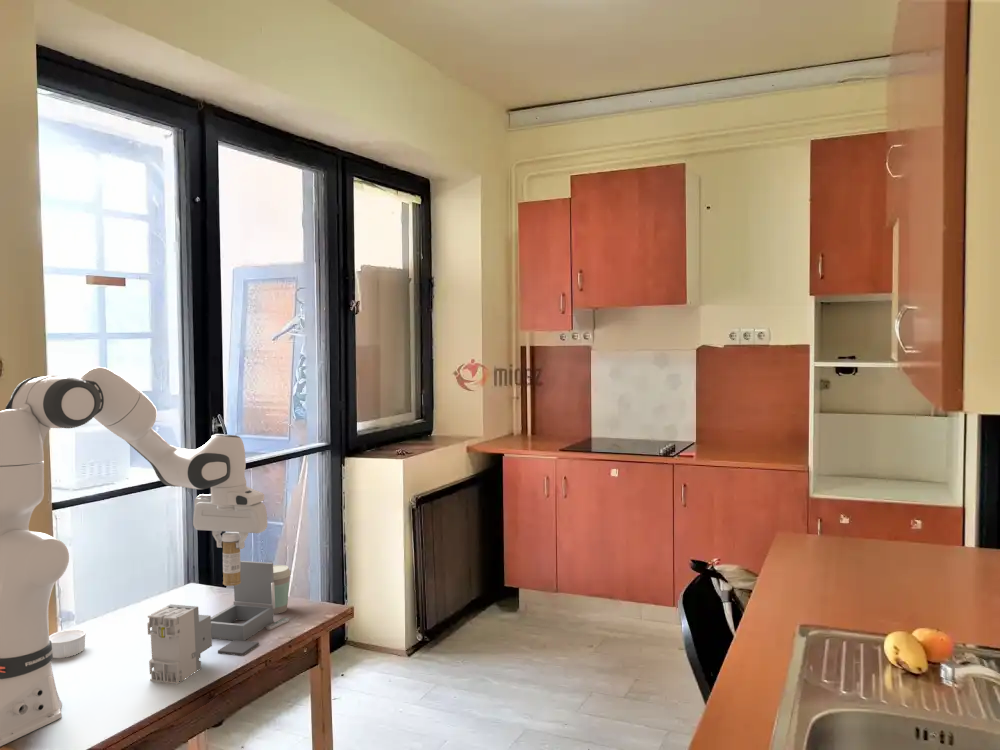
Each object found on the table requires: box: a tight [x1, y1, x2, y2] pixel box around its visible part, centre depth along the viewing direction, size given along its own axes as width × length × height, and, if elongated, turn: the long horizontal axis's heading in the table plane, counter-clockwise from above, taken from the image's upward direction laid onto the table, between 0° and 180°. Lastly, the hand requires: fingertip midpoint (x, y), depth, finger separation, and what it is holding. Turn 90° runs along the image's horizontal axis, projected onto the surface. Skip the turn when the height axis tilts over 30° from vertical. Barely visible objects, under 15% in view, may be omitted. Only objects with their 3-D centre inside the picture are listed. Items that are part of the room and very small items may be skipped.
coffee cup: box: [273, 564, 292, 615], centre depth 225 cm, size 8×8×12 cm
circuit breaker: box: [147, 603, 213, 685], centre depth 187 cm, size 8×14×15 cm, turn 164°
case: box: [211, 560, 275, 641], centre depth 212 cm, size 15×13×16 cm
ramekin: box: [49, 628, 87, 659], centre depth 199 cm, size 9×9×4 cm
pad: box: [217, 640, 260, 656], centre depth 199 cm, size 7×7×1 cm
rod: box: [265, 617, 290, 631], centre depth 214 cm, size 7×1×1 cm, turn 151°
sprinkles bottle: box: [221, 531, 241, 587], centre depth 208 cm, size 5×5×14 cm
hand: (230, 547), depth 208 cm, fingers closed on sprinkles bottle, 4 cm apart
